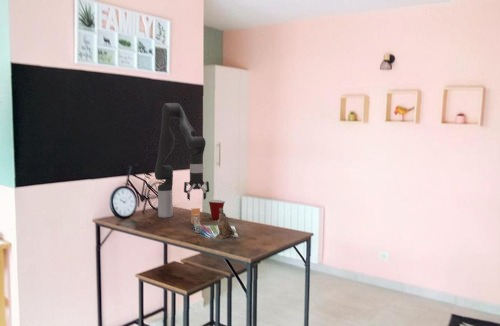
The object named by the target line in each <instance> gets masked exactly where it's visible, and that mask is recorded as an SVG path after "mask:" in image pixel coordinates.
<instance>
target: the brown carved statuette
mask: <svg viewBox="0 0 500 326" xmlns="http://www.w3.org/2000/svg"><path fill="white" fill-rule="evenodd" d="M219 211H220V213H219V219H218V220H217V228H218V232H219V233H218V234H216V236H215V239H220V240H224V239H227V238H230V237H232V236H235V231H234V230H233V228H232V227H231V224H230V223H229V221H228V219H227V214H226V213H225V212H224V208H223V209H222V208H220V209H219Z"/></svg>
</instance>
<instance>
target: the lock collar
mask: <svg viewBox="0 0 500 326" xmlns="http://www.w3.org/2000/svg"><path fill="white" fill-rule="evenodd" d="M190 212H191V213H190V214H191V216H190V217H191V218H190V219H191V220H190V221H191V225H194V224H193V216H198V218H199V222H200V223H201V208H200V207H197V208H196V207H193V208H191V210H190Z"/></svg>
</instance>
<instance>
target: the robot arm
mask: <svg viewBox="0 0 500 326" xmlns="http://www.w3.org/2000/svg"><path fill="white" fill-rule="evenodd" d="M171 119H178V120H179V125H178V126H179V131H180V133H181V134H182V135H183V137H184V139H185V143H186V146H187V148H188V149H190V150H195V152H193V153H191V154H190V155H189V181H184V183H183V184H184V185H183V192H184V193H185V194H186V195H187V196H186V197H187V200H188V201H191V192H192V191H193V190H201V191H202V192H203V193H202V196H203V197H202V198H203V200H206V199H207V193H209V192H210V182H209V181H208V180H206V181H204V166H203V165H204V164H203V157H204V154H205V153H204V152H205V148H206V139H205V138H204V137H203V136H197V132H196V130H195V129H194V127H193V126H192V125H191V124H190V122H189V119H188V117H187V115H186V113H185V111H184V109H183V107H182V105H181V104H180V103H178V102H166V103H164V104H163V106H162V110H161V127H160V136H159V143H158V151H157V159H156V163H155V167H154V178H155V180H157V181H164V182H163V183H161V184H159V185H158V186H157V213H158V214H157V215H158V216H157V217H158V218H171V217H173V214H174V212H173V209H174V208H173V184H174V183H173V182H174V181H173V180H174V169H173V167H172V165H169V164H165V165H164V163H165V161H166V160H167V159H168V157H169V156H170V155H171V153H172V152H173V151H174V148H175V140H176V137H175V135H174V133H173V131H172V129H171V126H170V120H171ZM188 185H189V186H190V187H189V188H188V190H187V187H188ZM204 185H205V186H206V189H205V188H204V187H203V186H204Z"/></svg>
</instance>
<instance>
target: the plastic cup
mask: <svg viewBox="0 0 500 326" xmlns="http://www.w3.org/2000/svg"><path fill="white" fill-rule="evenodd" d="M225 203H226V200H222V199H208V204H209V210H210V211H209V212H210V215H211V220H214V221H218V219H219V213H220V211H219V209H220V208H222V209H223V210H224V205H225Z"/></svg>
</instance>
